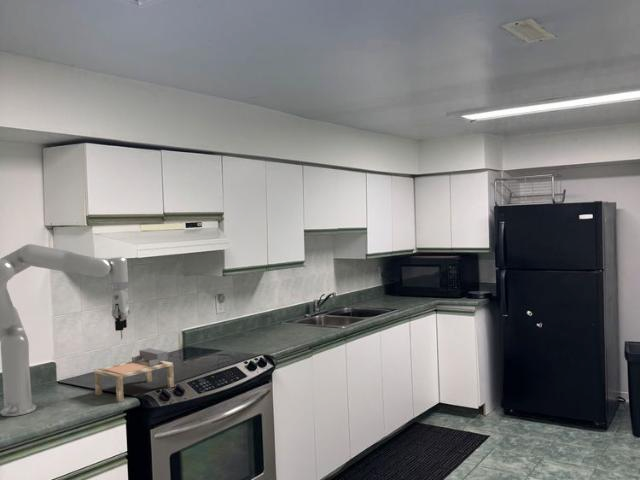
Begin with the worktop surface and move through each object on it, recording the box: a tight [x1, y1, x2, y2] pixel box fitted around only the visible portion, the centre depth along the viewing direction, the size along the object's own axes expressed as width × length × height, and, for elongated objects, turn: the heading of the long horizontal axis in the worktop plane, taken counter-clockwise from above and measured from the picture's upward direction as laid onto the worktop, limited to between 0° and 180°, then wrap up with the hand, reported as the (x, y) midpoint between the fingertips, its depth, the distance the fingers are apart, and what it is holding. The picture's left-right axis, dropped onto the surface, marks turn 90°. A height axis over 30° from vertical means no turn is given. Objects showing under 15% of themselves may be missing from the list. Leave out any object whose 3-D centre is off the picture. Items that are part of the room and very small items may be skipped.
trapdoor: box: [105, 347, 168, 375], centre depth 255 cm, size 22×14×6 cm, turn 139°
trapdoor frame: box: [93, 359, 175, 403], centre depth 254 cm, size 26×19×10 cm
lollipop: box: [111, 307, 130, 340], centre depth 250 cm, size 7×7×15 cm
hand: (121, 328), depth 250 cm, fingers closed on lollipop, 5 cm apart
